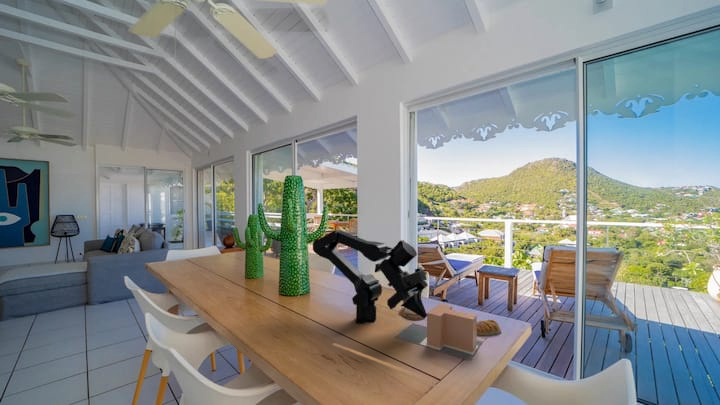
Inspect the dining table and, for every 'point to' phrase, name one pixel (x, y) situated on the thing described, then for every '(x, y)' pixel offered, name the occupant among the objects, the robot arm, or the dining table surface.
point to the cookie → (409, 314)
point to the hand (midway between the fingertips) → (425, 317)
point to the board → (419, 337)
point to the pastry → (488, 327)
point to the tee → (451, 328)
